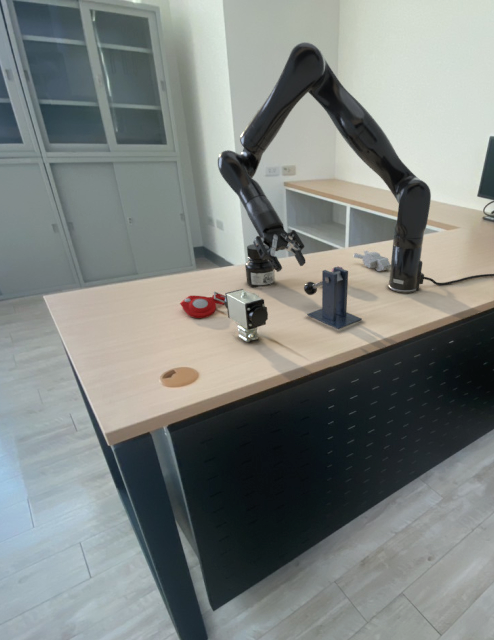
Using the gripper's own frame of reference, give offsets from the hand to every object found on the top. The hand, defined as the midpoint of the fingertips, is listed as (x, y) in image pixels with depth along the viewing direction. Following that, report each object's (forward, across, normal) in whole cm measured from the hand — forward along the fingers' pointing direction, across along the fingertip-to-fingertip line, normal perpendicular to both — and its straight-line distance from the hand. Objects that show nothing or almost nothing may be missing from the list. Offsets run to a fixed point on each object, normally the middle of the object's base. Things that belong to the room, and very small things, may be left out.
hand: (291, 267), depth 114 cm
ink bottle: (-6, +2, +21) cm, 22 cm away
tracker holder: (0, -22, +15) cm, 27 cm away
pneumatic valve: (+15, -23, 0) cm, 27 cm away
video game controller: (+5, +20, +10) cm, 23 cm away
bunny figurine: (+2, +46, +13) cm, 47 cm away
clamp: (+20, 0, -5) cm, 20 cm away
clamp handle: (+11, 0, -7) cm, 13 cm away
